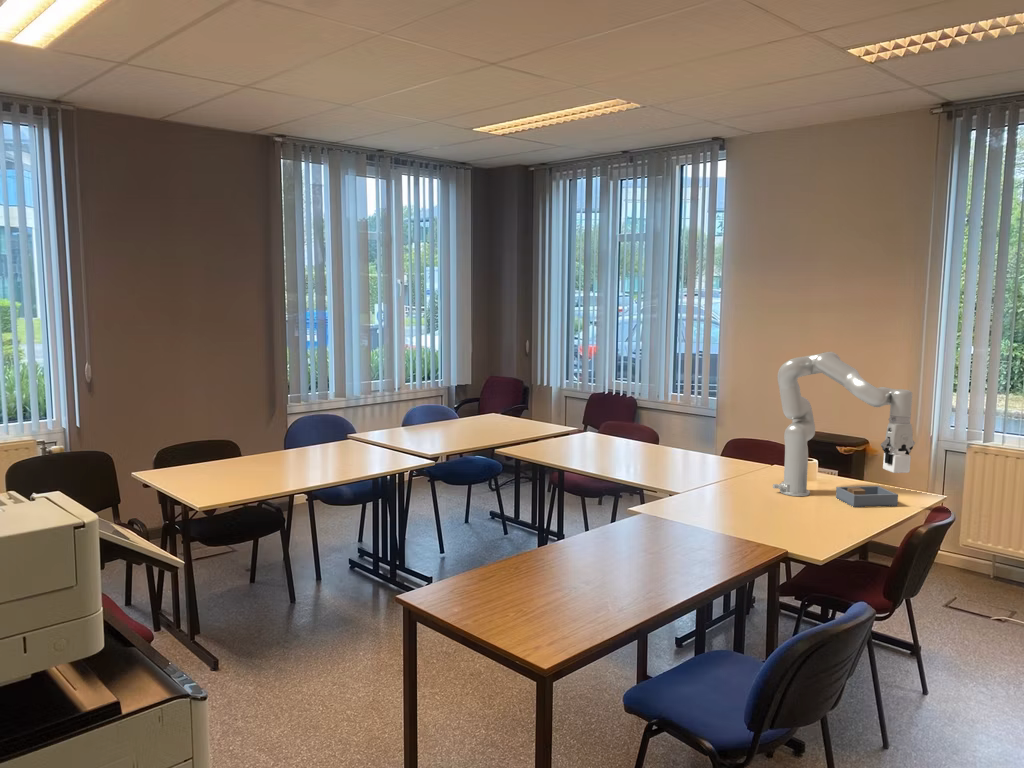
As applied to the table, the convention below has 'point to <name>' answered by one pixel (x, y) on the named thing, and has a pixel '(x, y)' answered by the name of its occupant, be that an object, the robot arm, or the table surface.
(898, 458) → the medicine bottle
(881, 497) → the tote
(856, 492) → the walnut cube
